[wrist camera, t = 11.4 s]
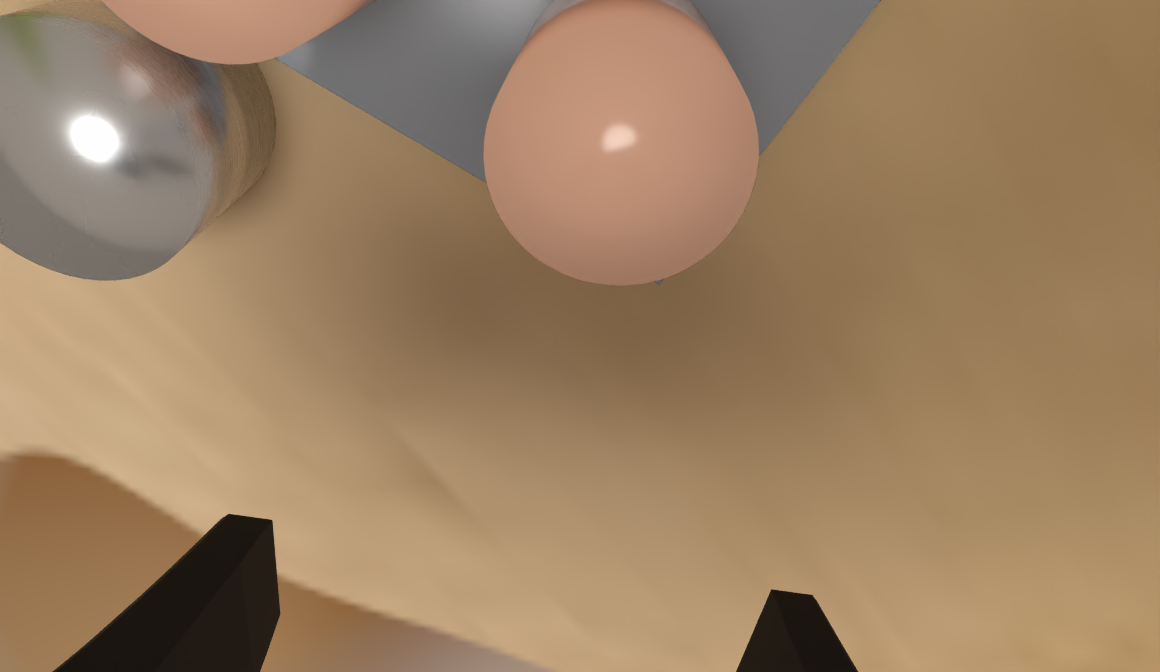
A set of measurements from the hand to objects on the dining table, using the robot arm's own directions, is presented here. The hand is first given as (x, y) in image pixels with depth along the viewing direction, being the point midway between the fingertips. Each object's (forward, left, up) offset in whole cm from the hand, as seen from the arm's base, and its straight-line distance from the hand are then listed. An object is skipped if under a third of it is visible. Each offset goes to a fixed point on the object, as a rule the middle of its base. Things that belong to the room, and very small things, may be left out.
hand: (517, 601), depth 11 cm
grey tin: (+10, +1, -10) cm, 14 cm away
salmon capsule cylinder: (+2, -5, -10) cm, 11 cm away
